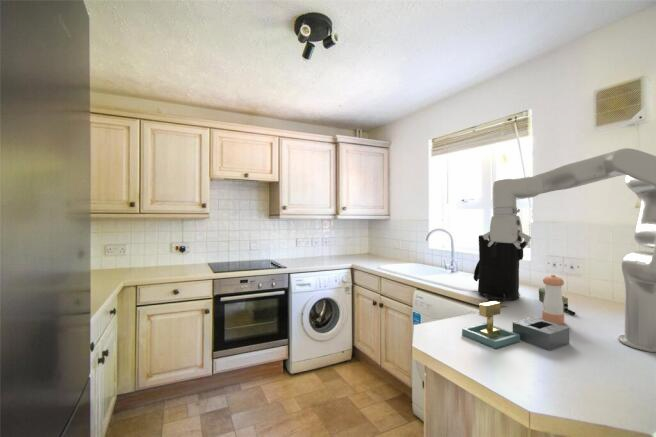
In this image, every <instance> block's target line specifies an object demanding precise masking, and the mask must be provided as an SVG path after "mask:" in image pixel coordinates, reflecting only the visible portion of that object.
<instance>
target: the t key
mask: <svg viewBox="0 0 656 437" xmlns="http://www.w3.org/2000/svg"><path fill="white" fill-rule="evenodd" d="M478 306H479V309H478V311H479V313H478V314H479V316H480V317H484V318H486V323H487V329H485V330H481V331H480V335H483V336H486V337H488V338H491V339H492V338H495V337H499V329H496V328H493V326H494V316H497V315H498V316H499V315H501V302H496V301H491V302H488V301H487V302H482V303H479V305H478Z"/></svg>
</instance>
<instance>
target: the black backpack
mask: <svg viewBox="0 0 656 437" xmlns="http://www.w3.org/2000/svg"><path fill="white" fill-rule="evenodd" d="M483 235H484V234H481V235H480V234H479V236H478V256H479V257H478V259H479V260H478V262H476V266H475V268H474V272H473V280H474V281H475V282H478V286H477V292H478V293H479V295H480V296H482V297H483V298H485V299H487V302H491V301H496V302H500V303H504V302H507V301H515V300H518V299H519V298H520V296H519V294H520V291H519V290H520V283H519V282H520V260H516V255H515V249H517V247H516V246H515V245H514V244H513V243H499V242H497V244H496V245H495V246H496V249H497V256H496V257H490V253H489V247H488V244H487V243H486V242H485V240H484V238H483ZM489 239H490V236H489Z"/></svg>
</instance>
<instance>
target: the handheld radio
mask: <svg viewBox="0 0 656 437" xmlns="http://www.w3.org/2000/svg"><path fill="white" fill-rule="evenodd" d="M561 296H562V302H563V313H569V314H571V315H573V316H576V312H575V311H573V310H570V309H569V300H568V299H569V298H568V297H566V296H563V295H561ZM544 297H545V287H544V288H543V287H539V288H538V299H539V301H540V302H542V303H543V302H544Z"/></svg>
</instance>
